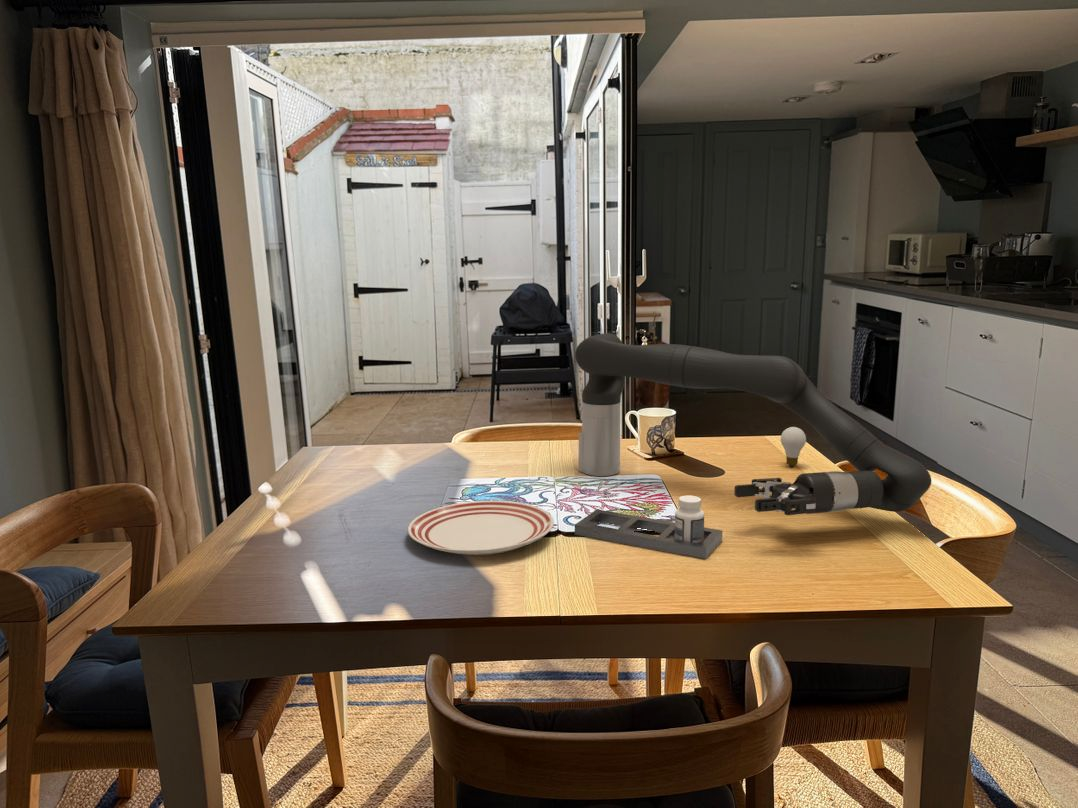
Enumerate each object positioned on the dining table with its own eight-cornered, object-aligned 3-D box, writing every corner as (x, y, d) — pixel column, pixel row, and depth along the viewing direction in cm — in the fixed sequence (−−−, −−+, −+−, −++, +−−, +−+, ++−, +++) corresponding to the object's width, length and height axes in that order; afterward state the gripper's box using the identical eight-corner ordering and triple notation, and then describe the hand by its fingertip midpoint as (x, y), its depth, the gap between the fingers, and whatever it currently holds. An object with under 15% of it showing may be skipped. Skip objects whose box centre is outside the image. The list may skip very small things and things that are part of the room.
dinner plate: (380, 555, 142) (379, 537, 141) (448, 507, 167) (448, 492, 167) (523, 575, 133) (522, 557, 132) (572, 522, 158) (572, 506, 157)
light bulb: (801, 463, 197) (803, 424, 195) (806, 470, 191) (809, 430, 189) (777, 463, 198) (779, 424, 196) (781, 470, 192) (784, 429, 190)
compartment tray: (574, 534, 151) (574, 524, 150) (596, 518, 159) (596, 509, 159) (705, 559, 138) (706, 548, 138) (722, 540, 147) (722, 530, 147)
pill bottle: (705, 541, 147) (707, 495, 145) (701, 551, 142) (703, 504, 140) (676, 538, 148) (677, 493, 147) (671, 548, 144) (673, 501, 142)
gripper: (807, 462, 154) (729, 468, 151) (848, 483, 141) (764, 490, 138) (805, 499, 156) (728, 505, 153) (846, 523, 142) (762, 531, 139)
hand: (745, 498), depth 145 cm, fingers open, 8 cm apart
